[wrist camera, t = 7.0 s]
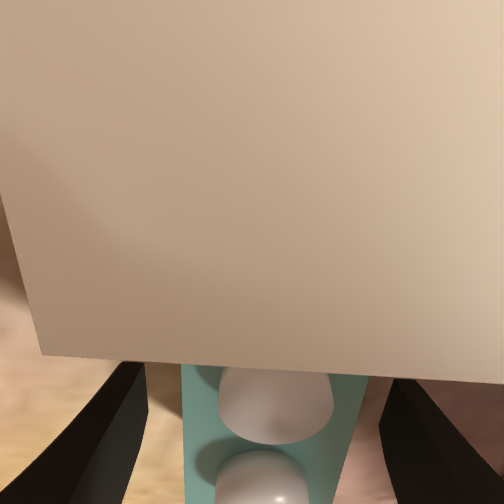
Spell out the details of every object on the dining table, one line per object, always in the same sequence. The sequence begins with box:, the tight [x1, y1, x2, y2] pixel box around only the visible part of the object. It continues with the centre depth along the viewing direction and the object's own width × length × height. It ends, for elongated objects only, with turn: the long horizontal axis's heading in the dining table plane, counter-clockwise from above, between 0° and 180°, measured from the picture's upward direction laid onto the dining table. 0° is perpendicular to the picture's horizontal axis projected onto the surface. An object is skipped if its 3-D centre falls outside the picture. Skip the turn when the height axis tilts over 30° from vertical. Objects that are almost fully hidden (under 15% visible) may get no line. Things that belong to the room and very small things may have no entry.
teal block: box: [181, 364, 370, 504], centre depth 12 cm, size 8×4×4 cm, turn 176°
